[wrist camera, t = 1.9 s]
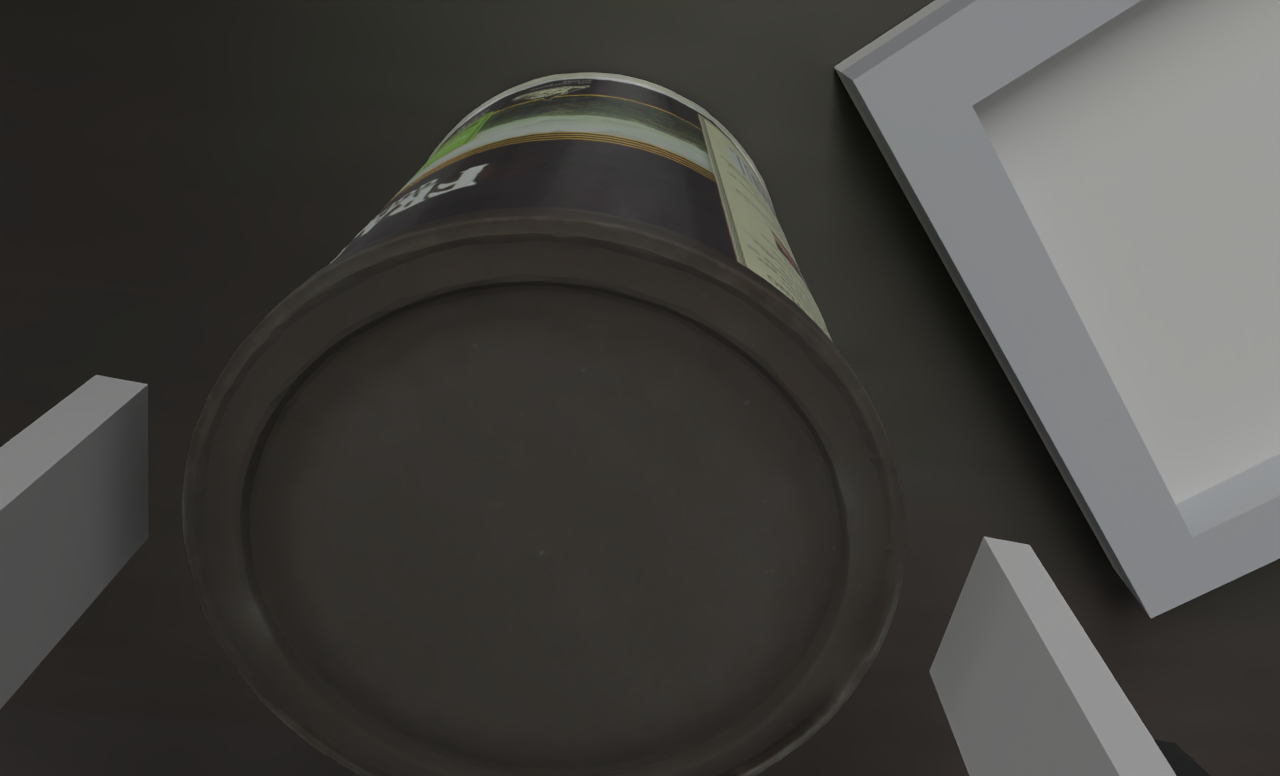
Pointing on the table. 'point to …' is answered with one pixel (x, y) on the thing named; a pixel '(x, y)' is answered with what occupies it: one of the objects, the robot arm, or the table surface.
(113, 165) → the table surface
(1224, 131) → the plate
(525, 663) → the coffee can
